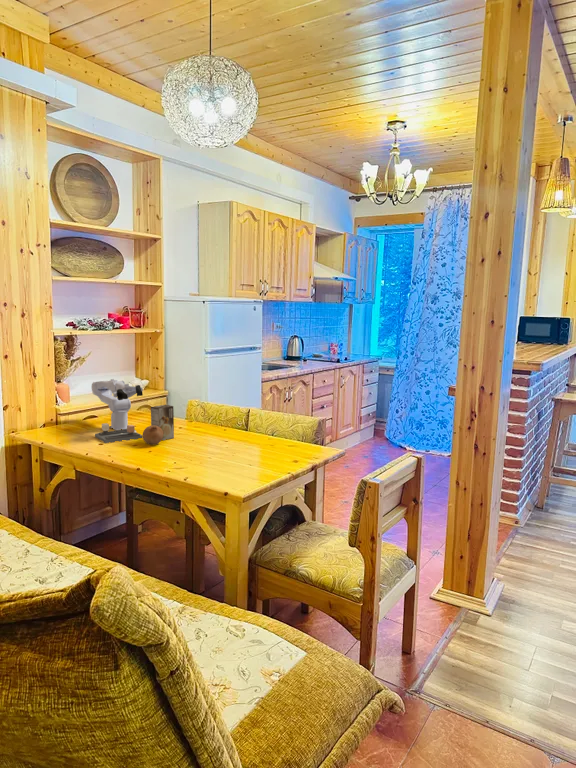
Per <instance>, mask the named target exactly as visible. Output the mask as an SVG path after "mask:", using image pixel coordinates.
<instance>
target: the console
mask: <svg viewBox="0 0 576 768" xmlns="http://www.w3.org/2000/svg"><path fill="white" fill-rule="evenodd" d="M94 437H95V438H96V439H98V440H100V441H101V442H102V443H104V444H109V442H111V443H116V442H115V441H119V442H123V441H122V440H126V441H131V440H130V439H134V440H139V439H138V438H142V439H143V434H140V433H139V432H137V430H135V429H134V432H133V435H129V432H127V429H122V430H111V431H110V430H109V431H108V433H104V434H103V431H100V432H97V433H94Z"/></svg>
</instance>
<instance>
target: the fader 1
mask: <svg viewBox="0 0 576 768" xmlns="http://www.w3.org/2000/svg"><path fill="white" fill-rule="evenodd" d="M101 430H102V432H103V434H104V433H108V431H110V423H107V422H106V423H101Z"/></svg>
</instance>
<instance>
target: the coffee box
mask: <svg viewBox="0 0 576 768" xmlns="http://www.w3.org/2000/svg"><path fill="white" fill-rule="evenodd" d="M174 413H175V412H174V406H173V405H169V404H161V405H155V406H150V426H152V425H155V426H158V427H160V428H161V429H162V431H163V438H162V440H163V441H166V439H167V440H170V439H175V424H174V417H175V415H174Z"/></svg>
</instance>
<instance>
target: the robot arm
mask: <svg viewBox="0 0 576 768" xmlns="http://www.w3.org/2000/svg"><path fill="white" fill-rule="evenodd" d="M91 391H92V395H94V396H96V397H97V398H98V399H99V400H100V401H101V402H102V403H104V404H106V405H108V408H109V410H110V411H111V412H112V413H111V414H110V419H111V421H110V425H109V428H111V429H112V428H113V431H117V430H121V429H122V430H125V429H127V425H129V423H128V421H129V420H128V413H129V411H130V409H131V407H132V403H131V399H130V398H131V397H133V396H135V395H136V397H140V396H141V397H142V396H143V395H144V394H143V393H144V389H143V387H142V386H141V385H140V384H137V385H135V386H133V385H130V384H129V383H125V381H124V380H117V379H114V378H112V379H110V380H100V381H93V382H92V383H91Z"/></svg>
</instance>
